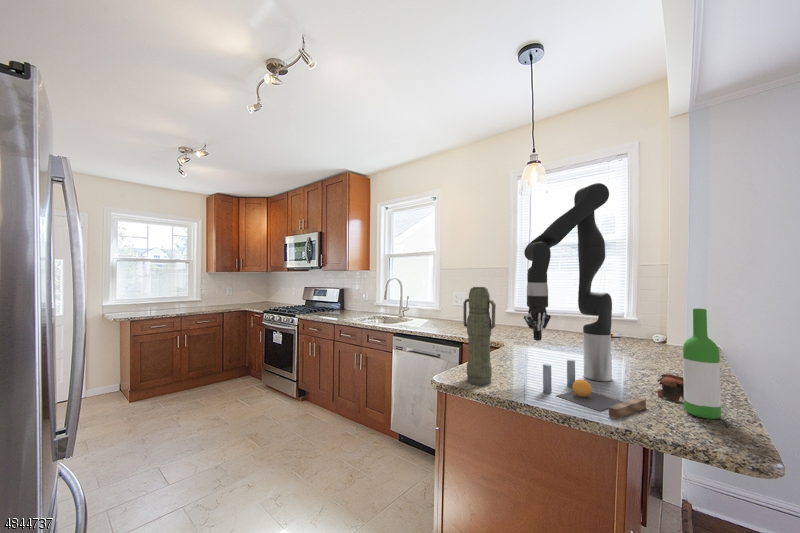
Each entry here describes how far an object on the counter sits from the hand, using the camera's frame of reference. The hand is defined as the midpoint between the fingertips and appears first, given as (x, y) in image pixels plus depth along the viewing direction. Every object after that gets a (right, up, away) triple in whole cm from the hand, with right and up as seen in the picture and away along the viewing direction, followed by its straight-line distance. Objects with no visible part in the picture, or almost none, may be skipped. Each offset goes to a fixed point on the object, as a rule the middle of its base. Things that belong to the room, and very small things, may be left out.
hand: (537, 340), depth 124 cm
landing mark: (+8, -14, -20) cm, 26 cm away
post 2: (+9, -15, -7) cm, 19 cm away
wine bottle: (+34, -14, -31) cm, 48 cm away
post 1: (-2, -15, -13) cm, 20 cm away
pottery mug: (+38, -15, -18) cm, 44 cm away
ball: (+7, -12, -18) cm, 22 cm away
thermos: (-23, -15, -3) cm, 27 cm away
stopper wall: (+14, -14, -29) cm, 35 cm away
